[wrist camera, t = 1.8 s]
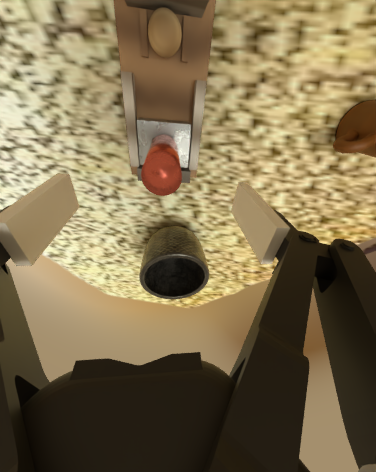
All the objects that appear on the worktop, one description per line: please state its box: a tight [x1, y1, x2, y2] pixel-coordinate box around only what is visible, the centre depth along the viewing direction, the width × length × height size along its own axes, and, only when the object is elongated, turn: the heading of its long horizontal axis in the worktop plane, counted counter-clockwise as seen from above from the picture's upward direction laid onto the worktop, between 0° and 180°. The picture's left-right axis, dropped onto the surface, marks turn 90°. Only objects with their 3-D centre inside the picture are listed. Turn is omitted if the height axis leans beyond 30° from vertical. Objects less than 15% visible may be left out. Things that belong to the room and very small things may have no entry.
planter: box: [140, 226, 209, 299], centre depth 41 cm, size 14×14×13 cm
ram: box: [137, 117, 191, 196], centre depth 24 cm, size 6×8×16 cm
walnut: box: [148, 7, 182, 58], centre depth 22 cm, size 4×4×4 cm
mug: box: [333, 100, 376, 157], centre depth 30 cm, size 12×8×9 cm, turn 107°
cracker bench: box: [114, 0, 216, 183], centre depth 25 cm, size 24×12×9 cm, turn 175°
